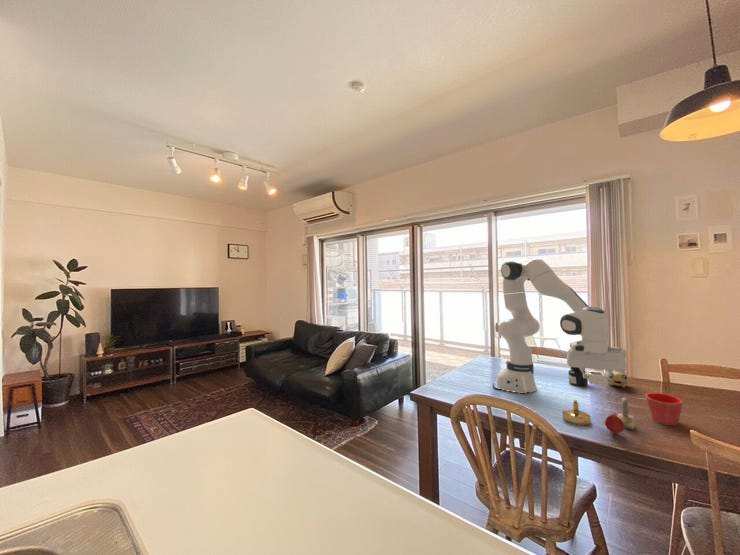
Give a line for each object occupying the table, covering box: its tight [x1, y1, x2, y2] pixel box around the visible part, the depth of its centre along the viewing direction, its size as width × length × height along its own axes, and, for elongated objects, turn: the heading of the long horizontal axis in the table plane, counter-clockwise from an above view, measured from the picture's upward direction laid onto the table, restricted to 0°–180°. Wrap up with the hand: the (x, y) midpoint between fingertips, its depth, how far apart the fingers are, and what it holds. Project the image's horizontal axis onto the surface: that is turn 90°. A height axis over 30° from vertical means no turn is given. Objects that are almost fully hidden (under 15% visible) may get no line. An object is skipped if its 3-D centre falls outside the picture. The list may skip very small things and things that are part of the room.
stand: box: [617, 397, 635, 430], centre depth 125 cm, size 5×5×11 cm
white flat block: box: [584, 368, 609, 386], centre depth 129 cm, size 6×9×3 cm, turn 154°
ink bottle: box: [568, 367, 589, 387], centre depth 172 cm, size 10×9×12 cm
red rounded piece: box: [604, 413, 625, 435], centre depth 120 cm, size 6×6×8 cm
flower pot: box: [645, 392, 684, 426], centre depth 127 cm, size 11×11×10 cm
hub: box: [562, 399, 592, 427], centre depth 132 cm, size 10×10×8 cm
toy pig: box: [605, 370, 630, 388], centre depth 166 cm, size 10×12×11 cm
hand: (595, 378), depth 129 cm, fingers closed on white flat block, 6 cm apart
